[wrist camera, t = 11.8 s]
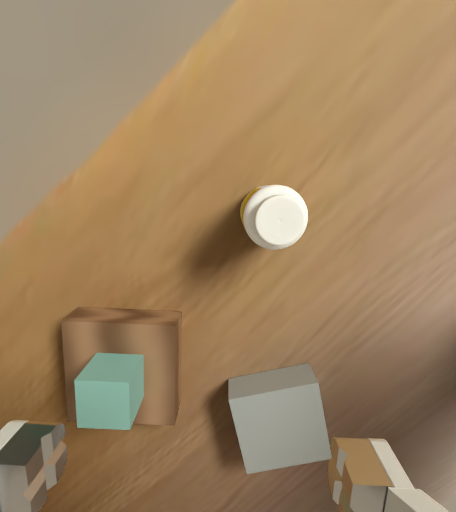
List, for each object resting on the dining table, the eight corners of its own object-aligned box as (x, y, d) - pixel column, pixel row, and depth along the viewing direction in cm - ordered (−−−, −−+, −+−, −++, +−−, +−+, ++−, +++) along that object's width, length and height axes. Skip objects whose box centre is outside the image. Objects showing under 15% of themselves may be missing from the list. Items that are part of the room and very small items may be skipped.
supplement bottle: (244, 240, 36) (250, 261, 26) (235, 190, 34) (238, 191, 24) (294, 232, 35) (319, 249, 25) (287, 181, 34) (311, 178, 24)
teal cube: (143, 354, 34) (129, 382, 29) (143, 396, 35) (130, 429, 30) (96, 352, 34) (74, 380, 29) (98, 394, 35) (77, 427, 30)
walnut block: (181, 311, 37) (175, 325, 33) (180, 402, 40) (174, 425, 36) (78, 307, 37) (61, 321, 33) (83, 398, 40) (67, 420, 36)
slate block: (309, 362, 39) (318, 382, 35) (322, 432, 41) (332, 458, 37) (228, 378, 39) (228, 399, 35) (245, 446, 41) (246, 474, 37)
